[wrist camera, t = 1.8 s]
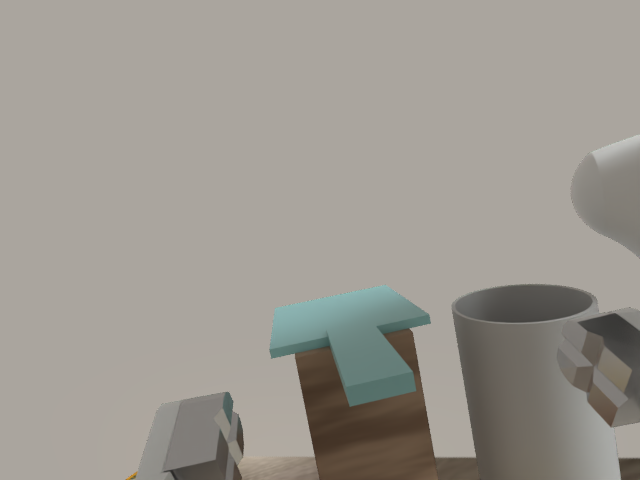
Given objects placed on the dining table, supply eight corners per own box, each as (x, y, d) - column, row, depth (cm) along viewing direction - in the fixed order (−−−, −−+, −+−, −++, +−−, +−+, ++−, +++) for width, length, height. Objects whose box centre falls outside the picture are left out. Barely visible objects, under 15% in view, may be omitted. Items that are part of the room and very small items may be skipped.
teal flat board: (496, 372, 22) (493, 352, 21) (263, 426, 20) (259, 406, 20) (386, 291, 45) (385, 281, 45) (276, 314, 44) (274, 304, 44)
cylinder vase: (484, 572, 35) (442, 325, 33) (490, 478, 46) (459, 288, 44) (652, 620, 29) (613, 322, 27) (613, 499, 40) (583, 280, 38)
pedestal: (461, 611, 32) (412, 331, 30) (352, 642, 32) (295, 357, 30) (420, 518, 42) (381, 303, 40) (336, 541, 42) (293, 322, 40)
